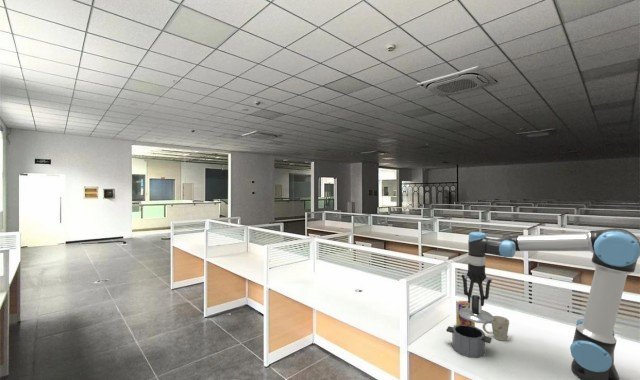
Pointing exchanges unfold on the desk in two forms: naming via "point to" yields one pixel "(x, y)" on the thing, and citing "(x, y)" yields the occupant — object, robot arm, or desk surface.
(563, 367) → the desk surface
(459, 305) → the candy box
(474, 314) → the lid
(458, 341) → the pot
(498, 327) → the mug
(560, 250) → the robot arm
